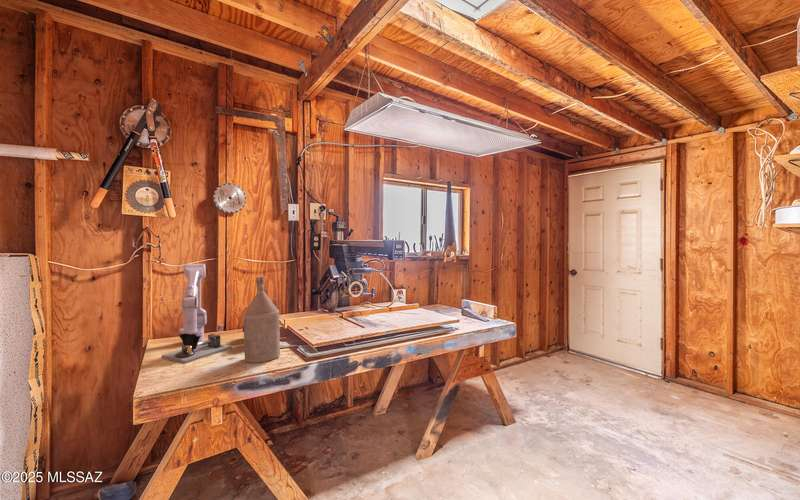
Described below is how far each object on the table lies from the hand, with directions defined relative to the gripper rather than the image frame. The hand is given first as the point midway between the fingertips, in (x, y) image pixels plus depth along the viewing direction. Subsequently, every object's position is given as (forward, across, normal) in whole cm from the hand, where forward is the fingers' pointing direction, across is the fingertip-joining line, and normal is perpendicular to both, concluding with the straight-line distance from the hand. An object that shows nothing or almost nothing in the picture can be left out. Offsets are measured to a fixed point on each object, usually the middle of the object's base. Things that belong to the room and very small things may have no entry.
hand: (190, 348), depth 163 cm
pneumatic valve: (+4, +3, +32) cm, 32 cm away
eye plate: (+2, 0, +13) cm, 13 cm away
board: (+3, -1, +4) cm, 6 cm away
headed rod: (0, 0, +4) cm, 4 cm away
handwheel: (+2, 0, -3) cm, 3 cm away
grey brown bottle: (+4, +34, +14) cm, 37 cm away
